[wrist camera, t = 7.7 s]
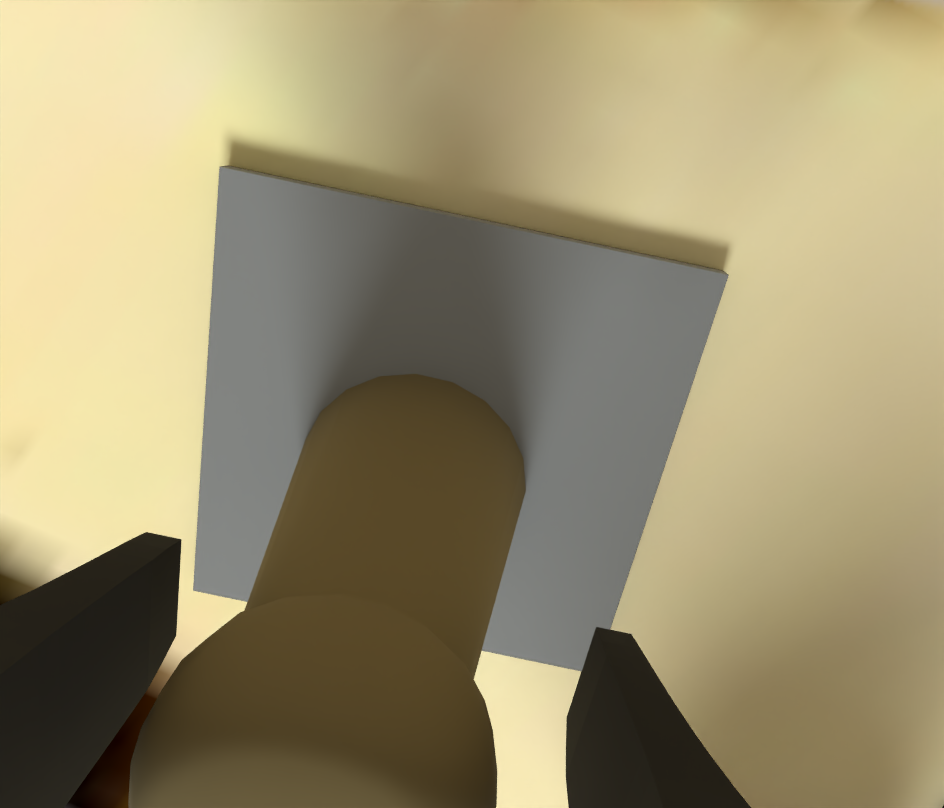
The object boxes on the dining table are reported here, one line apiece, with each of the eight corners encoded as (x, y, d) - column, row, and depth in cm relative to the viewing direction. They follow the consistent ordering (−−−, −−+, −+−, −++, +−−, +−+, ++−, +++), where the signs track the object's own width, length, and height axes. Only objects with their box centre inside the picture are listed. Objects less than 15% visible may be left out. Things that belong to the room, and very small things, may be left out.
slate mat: (723, 271, 17) (728, 274, 17) (593, 662, 22) (594, 674, 21) (228, 165, 17) (219, 167, 17) (200, 580, 21) (193, 590, 21)
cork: (384, 608, 21) (248, 1080, 11) (255, 444, 19) (-56, 816, 9) (568, 516, 19) (616, 963, 9) (445, 329, 18) (332, 617, 7)
